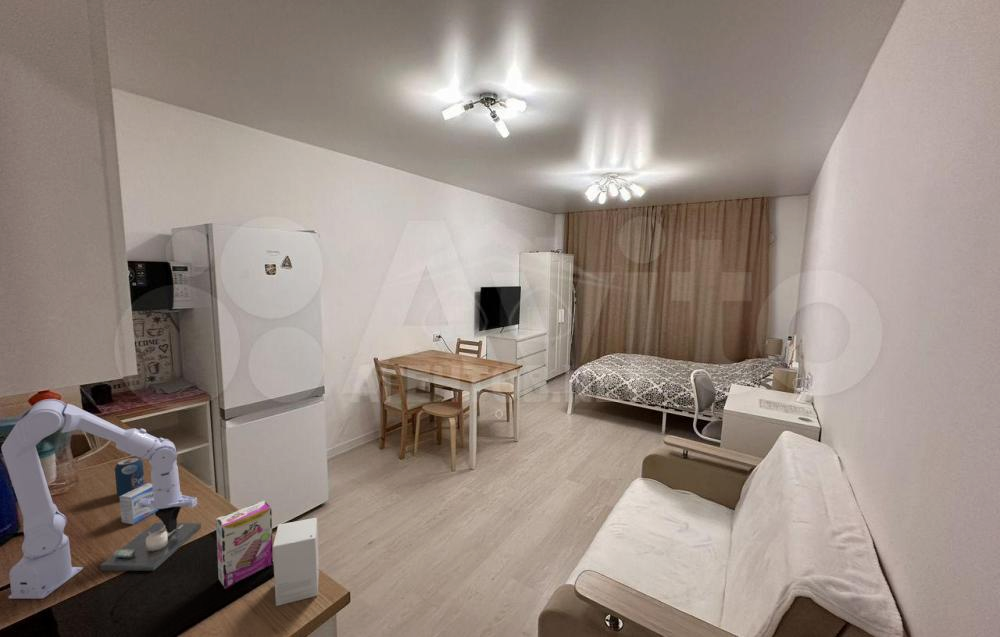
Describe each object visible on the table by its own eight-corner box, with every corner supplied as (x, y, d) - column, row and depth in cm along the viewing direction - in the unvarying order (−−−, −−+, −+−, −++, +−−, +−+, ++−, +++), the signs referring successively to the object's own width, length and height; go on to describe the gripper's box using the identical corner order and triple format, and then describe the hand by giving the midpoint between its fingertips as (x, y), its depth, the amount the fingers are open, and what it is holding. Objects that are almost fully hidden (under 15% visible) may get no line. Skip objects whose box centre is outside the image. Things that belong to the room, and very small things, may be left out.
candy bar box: (225, 590, 97) (221, 527, 95) (218, 580, 100) (214, 518, 98) (274, 565, 106) (272, 506, 104) (266, 556, 109) (264, 499, 107)
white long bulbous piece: (160, 550, 108) (160, 540, 107) (142, 551, 107) (141, 541, 107) (182, 528, 117) (181, 519, 116) (165, 529, 116) (164, 520, 116)
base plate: (153, 570, 103) (152, 558, 102) (100, 570, 102) (99, 558, 102) (200, 528, 120) (200, 517, 119) (155, 527, 119) (154, 517, 119)
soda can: (139, 498, 134) (137, 463, 132) (113, 501, 131) (109, 466, 130) (148, 487, 140) (146, 454, 139) (123, 490, 138) (120, 457, 136)
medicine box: (133, 525, 120) (130, 497, 119) (121, 523, 121) (118, 495, 120) (160, 510, 128) (158, 484, 127) (148, 508, 129) (146, 482, 128)
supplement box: (319, 570, 104) (318, 516, 103) (317, 596, 96) (316, 538, 94) (280, 579, 101) (277, 523, 99) (274, 607, 93) (271, 546, 91)
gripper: (203, 477, 116) (207, 521, 118) (151, 477, 115) (156, 521, 117) (184, 490, 109) (189, 537, 111) (129, 491, 108) (135, 538, 110)
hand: (171, 530), depth 113 cm, fingers closed, pressing on white long bulbous piece
